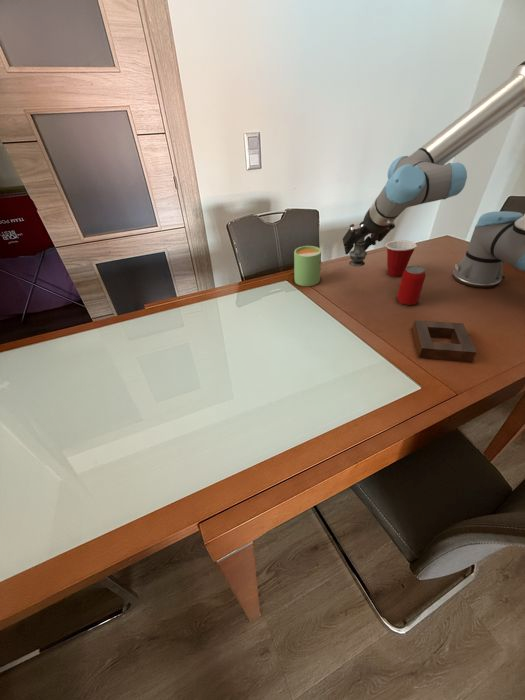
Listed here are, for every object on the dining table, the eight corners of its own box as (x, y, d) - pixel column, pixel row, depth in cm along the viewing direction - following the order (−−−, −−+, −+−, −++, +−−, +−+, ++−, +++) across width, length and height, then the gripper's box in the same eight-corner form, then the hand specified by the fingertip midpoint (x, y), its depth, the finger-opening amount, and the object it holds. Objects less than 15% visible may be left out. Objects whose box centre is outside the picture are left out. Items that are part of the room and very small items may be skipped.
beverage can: (417, 297, 106) (426, 265, 98) (417, 307, 101) (427, 274, 93) (396, 295, 108) (403, 263, 100) (396, 305, 103) (404, 272, 95)
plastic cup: (397, 265, 125) (404, 236, 117) (415, 276, 117) (423, 245, 109) (374, 270, 123) (379, 241, 115) (391, 282, 115) (398, 251, 107)
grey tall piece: (366, 267, 103) (371, 231, 95) (348, 266, 104) (352, 231, 96) (365, 259, 107) (370, 225, 100) (348, 259, 108) (351, 225, 101)
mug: (323, 284, 118) (325, 254, 110) (296, 287, 117) (296, 257, 110) (316, 270, 127) (317, 242, 120) (291, 273, 127) (291, 245, 119)
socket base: (459, 332, 89) (463, 323, 87) (471, 362, 80) (476, 352, 78) (411, 329, 92) (414, 320, 90) (418, 357, 83) (421, 347, 80)
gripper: (351, 231, 82) (330, 263, 106) (416, 222, 83) (381, 256, 106) (347, 205, 83) (327, 242, 106) (411, 197, 84) (377, 236, 107)
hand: (354, 249), depth 106 cm, fingers closed on grey tall piece, 5 cm apart
